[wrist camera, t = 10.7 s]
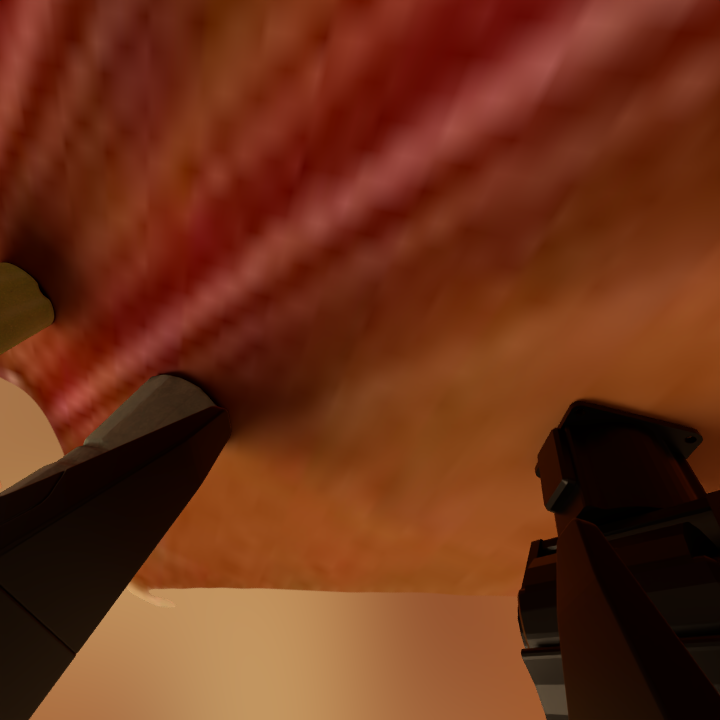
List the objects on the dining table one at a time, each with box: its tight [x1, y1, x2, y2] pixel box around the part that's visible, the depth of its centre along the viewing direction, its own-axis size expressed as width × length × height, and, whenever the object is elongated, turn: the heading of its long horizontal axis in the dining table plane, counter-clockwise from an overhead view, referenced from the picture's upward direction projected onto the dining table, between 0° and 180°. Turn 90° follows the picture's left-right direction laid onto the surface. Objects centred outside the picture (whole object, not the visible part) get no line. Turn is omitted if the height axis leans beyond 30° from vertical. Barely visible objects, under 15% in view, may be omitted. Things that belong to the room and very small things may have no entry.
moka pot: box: [0, 375, 216, 496], centre depth 25 cm, size 10×15×20 cm, turn 146°
